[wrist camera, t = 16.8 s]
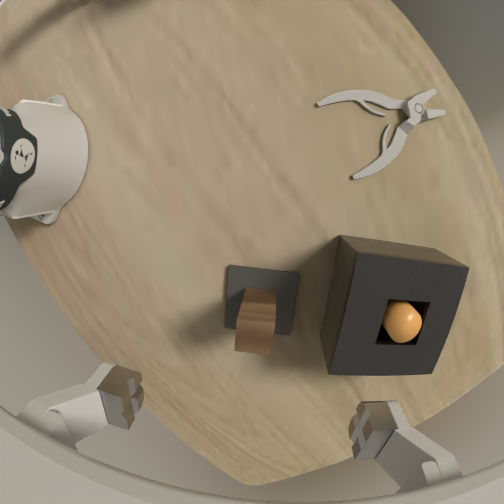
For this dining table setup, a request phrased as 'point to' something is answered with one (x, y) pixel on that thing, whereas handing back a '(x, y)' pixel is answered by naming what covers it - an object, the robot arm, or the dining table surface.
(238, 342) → the wood grain block
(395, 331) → the egg
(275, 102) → the dining table surface
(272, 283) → the pad
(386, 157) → the pliers
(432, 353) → the box
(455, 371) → the dining table surface
